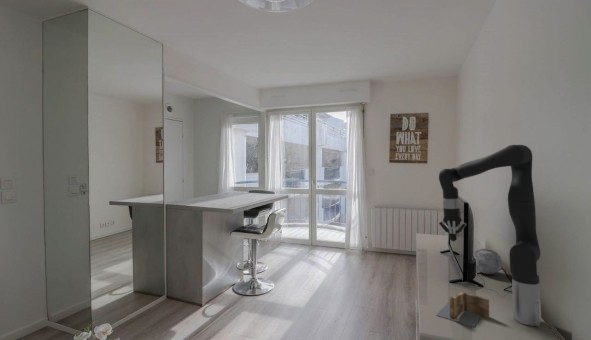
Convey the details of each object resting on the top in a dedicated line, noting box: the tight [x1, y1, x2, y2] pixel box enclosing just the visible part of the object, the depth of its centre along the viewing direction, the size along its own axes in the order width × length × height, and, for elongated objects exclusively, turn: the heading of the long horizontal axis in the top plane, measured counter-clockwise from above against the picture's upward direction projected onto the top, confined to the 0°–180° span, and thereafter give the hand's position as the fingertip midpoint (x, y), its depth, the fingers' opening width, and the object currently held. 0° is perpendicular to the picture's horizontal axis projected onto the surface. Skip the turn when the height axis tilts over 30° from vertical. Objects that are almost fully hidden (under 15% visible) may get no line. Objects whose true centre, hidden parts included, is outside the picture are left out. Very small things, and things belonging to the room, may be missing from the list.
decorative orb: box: [473, 248, 502, 275], centre depth 181 cm, size 15×14×15 cm
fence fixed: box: [461, 291, 490, 319], centre depth 135 cm, size 11×2×8 cm, turn 46°
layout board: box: [436, 301, 483, 328], centre depth 135 cm, size 15×17×1 cm
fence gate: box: [448, 291, 465, 318], centre depth 134 cm, size 11×2×9 cm, turn 126°
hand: (453, 240), depth 153 cm, fingers closed
